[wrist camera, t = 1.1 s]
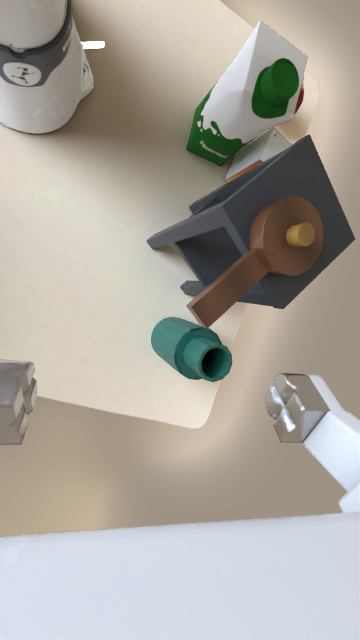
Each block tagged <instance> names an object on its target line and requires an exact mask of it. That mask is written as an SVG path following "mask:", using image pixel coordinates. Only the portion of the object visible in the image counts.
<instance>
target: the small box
mask: <svg viewBox="0 0 360 640" xmlns="http://www.w3.org/2000/svg"><path fill="white" fill-rule="evenodd" d="M291 146H292V144H291V143H289V142H288V141H287V140H286V139H285V138H284V137H283V136H282V135H281V134H280V133H279V132H278V131H277V130H276V129H275V128H274V127H273V128H271V129H270V130H269V131H267V132H266V133H264V134H263V135H262V136H260V137H259V138H257V139H256V140H255V141H253V142H252V143H250V144H249V145H248V146H246V147H245V148H243V149H242V150H240V151H239V152H238V153H236V155H235V157H234V159H233V162H232V164H231V166H230V168H229V171H228V173H227V175H226V177H225V181H226V182H228V183H229V182H230V181H232V180H234V179H236V178H237V177H239V176H241V175H242V174H244V173H246V172H248V171H249V170H251V169H253V168H254V167H256V166H258V165H260V164H261V163H263V162H265V161H266V160H268V159H270V158H272V157H273V156H275V155H277V154H279V153H280V152H282V151H284V150H285V149H287V148H289V147H291Z"/></svg>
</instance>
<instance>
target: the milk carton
mask: <svg viewBox="0 0 360 640" xmlns="http://www.w3.org/2000/svg"><path fill="white" fill-rule="evenodd" d="M307 58H308V56H307V55H305V54H304V53H303V52H302V51H300V50H299V49H298V48H296V47H295V46H294V45H292V44H291V43H290V42H289V41H287V40H286V39H285V38H283V37H282V36H281V35H279V34H278V33H277V32H276V31H274V30H273V29H271V28H270V27H269V26H268V25H266V24H265V23H264V22H262V21H260V22H259V23H258V25H257V26H256V28H255V29H254V31H253V32H252V34H251V35H250V37H249V38H248V40H247V41H246V43H245V44H244V46H243V47H242V49H241V50H240V52H239V53H238V55H237V56H236V58H235V59H234V61H233V62H232V63H231V65H230V66H229V67H228V68H227V70H226V71H225V72H224V74H223V75H222V76H221V77H220V79H219V80H218V81H217V83H216V84H215V85H214V86H213V88H212V89H211V90H210V92H209V93H208V94H207V95H206V97H205V98H204V99H203V101H202V102H201V103H200V105H199V106H198V107H197V108H196V112H195V116H194V120H193V124H192V128H191V133H190V137H189V141H188V145H187V150H188V151H190V152H192V153H194V154H196V155H199V156H201V157H203V158H205V159H207V160H209V161H211V162H213V163H215V164H217V165H219V166H221V165H222V164H223V163H225V162H226V161H227V160H228V159H230V158H231V157H232V156H233V155H234V154H236V153H237V152H238V151H239V150H241V149H242V148H243V147H245V146H246V145H247V144H249V143H250V142H251V141H253V140H254V139H256V138H257V137H258V136H260V135H261V134H262V133H264V132H265V131H267V130H268V129H269V128H271V127H273V126H276V125H278V124H281V123H283V122H286V121H289V120H291V119H292V118H293V115H294V111H295V108H296V104H297V100H298V96H299V93H300V89H301V86H302V83H303V79H304V76H303V74H304V70H305V66H306V62H307Z"/></svg>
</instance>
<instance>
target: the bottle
mask: <svg viewBox="0 0 360 640" xmlns="http://www.w3.org/2000/svg"><path fill="white" fill-rule="evenodd" d="M151 343H152V347H153V349H154V351H155V352H156V353H157V354H158V355H159V356H160V357H161V358H162V359H164V360H165V361H166V362H167V363H168V364H170V365H171V366H172V367H173V368H174V369H176V370H177V371H178V372H179V373H180V374H182V375H183V376H185V377H187V378H188V379H195V380H199V379H202V378H203V379H205V380H208V381H211V382H215V381H218V380H222V379H223V378H224V377H225V376H226V375H227V374H228V373H229V371H230V368H231V366H232V355H231V353H230V351H229V350H228V348H227V347H226V346H224V345H222V343H221V341H220V339H219V337H218V335H217V334H216V333H214V332H213V331H212V330H211V329H208V328H205V327H202V326H200V325H197V324H194V323H191V322H189V321H186V320H183V319H180V318H175V317H170V318H166V319H163V320H162V321H160V322H159V323H158V324H157V325H156V326H155V328H154V330H153V332H152V336H151Z"/></svg>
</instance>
